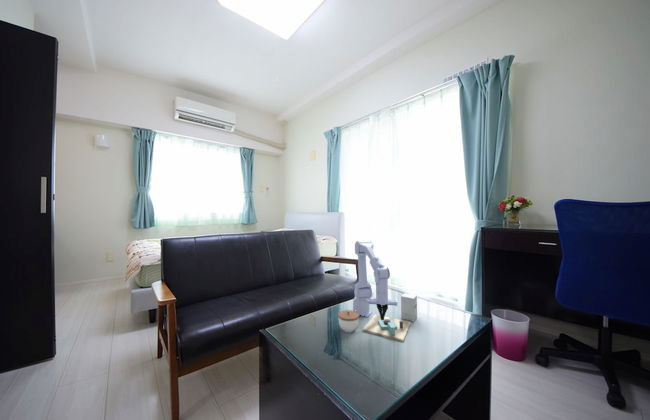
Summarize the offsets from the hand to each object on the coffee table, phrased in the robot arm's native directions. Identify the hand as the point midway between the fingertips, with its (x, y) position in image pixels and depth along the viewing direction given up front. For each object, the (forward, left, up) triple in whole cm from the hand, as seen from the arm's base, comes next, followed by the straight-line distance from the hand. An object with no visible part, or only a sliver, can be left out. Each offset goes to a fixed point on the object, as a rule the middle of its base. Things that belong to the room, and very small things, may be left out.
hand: (382, 319), depth 111 cm
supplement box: (+8, +26, -8) cm, 29 cm away
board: (0, +9, -7) cm, 11 cm away
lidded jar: (-17, -4, -8) cm, 19 cm away
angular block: (+2, +6, -6) cm, 9 cm away
